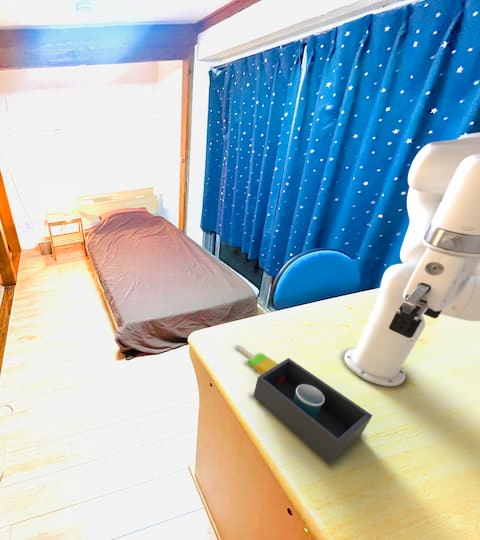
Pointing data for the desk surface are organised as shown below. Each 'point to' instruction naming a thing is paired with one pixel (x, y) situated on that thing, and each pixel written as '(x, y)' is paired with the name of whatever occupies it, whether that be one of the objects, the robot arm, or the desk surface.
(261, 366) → the popsicle
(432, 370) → the desk surface
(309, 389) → the paper cup
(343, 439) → the bin
